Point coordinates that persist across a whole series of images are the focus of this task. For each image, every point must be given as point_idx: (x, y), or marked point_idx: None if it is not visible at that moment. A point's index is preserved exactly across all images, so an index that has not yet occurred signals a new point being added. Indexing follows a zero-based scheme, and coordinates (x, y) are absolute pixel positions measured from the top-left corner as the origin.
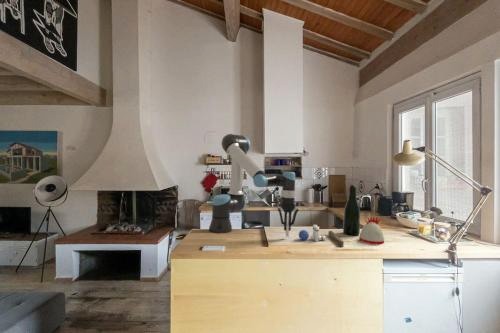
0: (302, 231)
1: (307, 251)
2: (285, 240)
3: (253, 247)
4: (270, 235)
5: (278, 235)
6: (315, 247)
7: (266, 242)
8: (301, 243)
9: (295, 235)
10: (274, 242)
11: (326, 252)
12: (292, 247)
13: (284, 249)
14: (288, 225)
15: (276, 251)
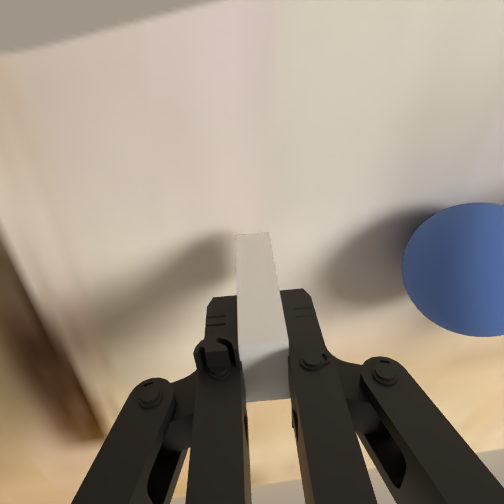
0: (473, 332)
1: (366, 457)
2: (234, 290)
3: (19, 467)
4: (2, 111)
5: (123, 81)
6: (454, 396)
7: (65, 374)
8: (377, 339)
9: (406, 9)
10: (134, 361)
11: (478, 450)
12: (282, 424)
13: None
14: (284, 384)
15: (180, 485)
